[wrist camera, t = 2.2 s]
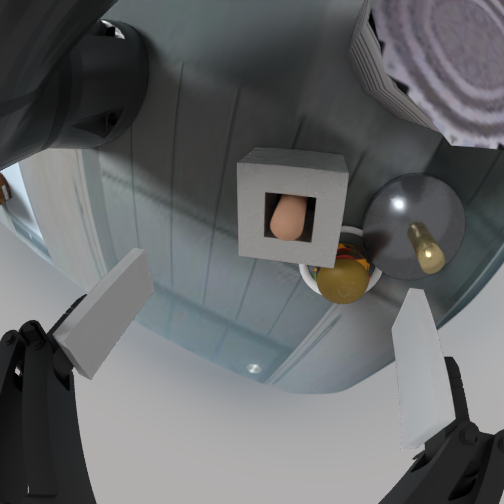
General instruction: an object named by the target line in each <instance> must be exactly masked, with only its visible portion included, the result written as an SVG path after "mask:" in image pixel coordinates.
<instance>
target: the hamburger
mask: <svg viewBox="0 0 504 504" xmlns="http://www.w3.org/2000/svg"><path fill="white" fill-rule="evenodd" d="M340 232H348V233H353V234H356V235H359V236H361V237H363V235H362V233H363V230H361V229H358V228H356V227H350V226H341V231H340ZM369 266H370V264H369V263H367V261H366V257H365V256H364V255H363V253H362V252H361V251H360V250H359V249H358V248H357V247H355V246H353V245H351V244H347V243H339V244H338V248H337V253H336V258H335V263H334V268H327V267H320V266H317V267H316V268H315V269H314V271H315V272H316V273H315V274H312V275H314V277H315V280H314V279H313V278H312V276H311V274H310V273H309V270H308V267H307V265H305V264H299V268H300V272H301V275H302V278H303V279H304V281H305V282H306V284H307V285H308V286H309V287H310V288H311V289H313V290H314V291H315V292H317V293H319V294H321V295H322V296H323V297H324V298H326V299H327V300H329V301H331V302H334V303H338V304H349V303H352V302H355V301H356V300H358V299H359V298H360V297H362V296H363V294H364V293H365V292H367V291H368V290H369V289H371V288H372V287H373V286H374V285H375V284H376V283H377V281H378V280H379V278H380V276H381V275H382V271H380V270H379V269H378V268H377V267H375V270H374V272H373V274H372V276H371V277H369V272H370V271H369V270H368V269H369Z"/></svg>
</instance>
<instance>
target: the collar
mask: <svg viewBox="0 0 504 504" xmlns="http://www.w3.org/2000/svg"><path fill="white" fill-rule="evenodd" d="M348 178H349V172H348V169H347V166H346V163H345V160H344V157H343V155H339V154H331V153H323V152H314V151H304V150H294V149H281V148H267V147H255V148H254V149H253V150H252V151H251V152H249V153H248V154H247V155H246V156H244V157H243V158H242V159H241V160H240V161H238V162H237V200H238V242H239V256H246V257H253V258H260V259H268V260H275V261H282V262H290V263H297V264H305V265H312V266H320V267H327V268H334V263H335V258H336V253H337V248H338V242H339V237H340V231H341V225H342V219H343V213H344V206H345V200H346V193H347V186H348ZM277 193H280V194H290V195H299V196H308V197H316V202H315V211H312V210H306V214H305V220H304V226H303V231H302V233H301V235H300V236H299V237H298V238H297V239H295V240H292V241H284V240H281V239H279V238H277V237H276V236H275V235H274V234H273V232H272V230H271V227H270V224H271V220H272V217H273V215H274V213H275V210H276V208H277Z"/></svg>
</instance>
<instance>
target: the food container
mask: <svg viewBox="0 0 504 504" xmlns="http://www.w3.org/2000/svg"><path fill="white" fill-rule="evenodd" d="M10 198H12V196H11V192H10V189H9V186H8V184H7V181H6V179H5V178H4V176H3V175H2V174H1V173H0V205H1V204H3V203H4V202H6V201H7V200H9V199H10Z"/></svg>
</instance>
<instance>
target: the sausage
mask: <svg viewBox="0 0 504 504" xmlns="http://www.w3.org/2000/svg"><path fill="white" fill-rule="evenodd" d="M307 201H308V196H299V195H290V194H282V196H281V198H280V200H279V203H278V205H277V208H276V210H275V213H274V215H273V217H272V220H271V224H270V227H271V230H272V232H273V234H274V235H275V236H276V237H277V238H279V239H281V240H284V241H292V240H295V239H297V238H298V237H299V236H300V235H301V233H302V231H303V226H304V220H305V214H306V207H307Z"/></svg>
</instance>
